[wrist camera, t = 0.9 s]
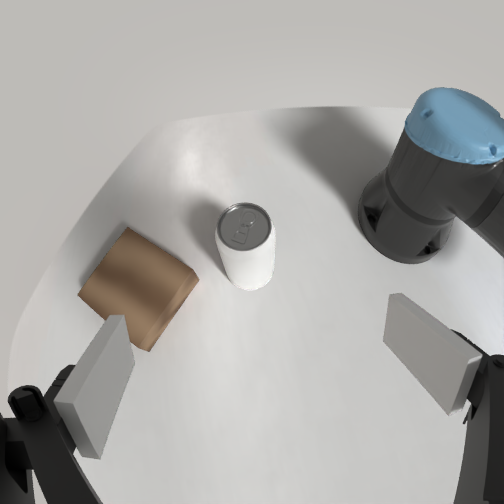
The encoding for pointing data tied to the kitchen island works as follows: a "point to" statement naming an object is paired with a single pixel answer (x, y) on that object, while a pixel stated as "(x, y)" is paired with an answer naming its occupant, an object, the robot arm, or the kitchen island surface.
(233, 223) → the can
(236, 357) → the kitchen island surface
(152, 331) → the walnut stand
